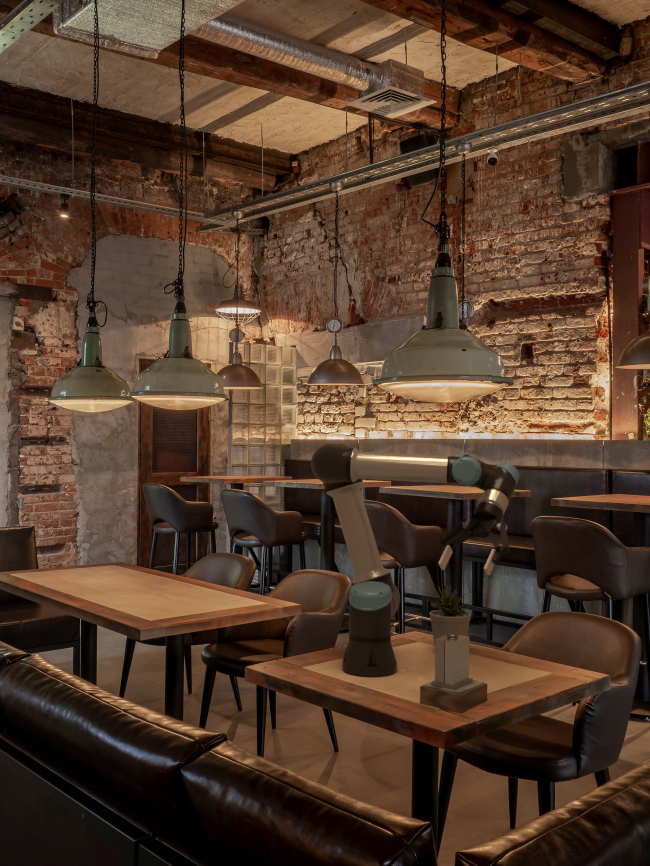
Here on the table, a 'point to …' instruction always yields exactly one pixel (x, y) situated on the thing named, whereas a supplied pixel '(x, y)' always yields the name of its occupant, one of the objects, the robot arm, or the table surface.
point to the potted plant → (449, 616)
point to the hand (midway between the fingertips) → (463, 569)
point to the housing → (452, 662)
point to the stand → (454, 696)
